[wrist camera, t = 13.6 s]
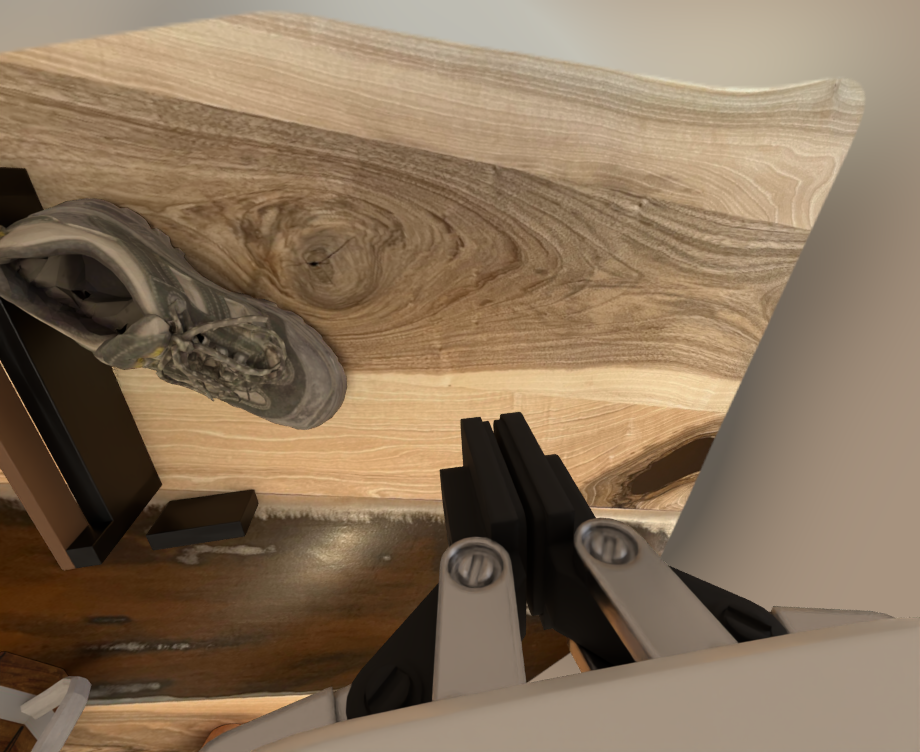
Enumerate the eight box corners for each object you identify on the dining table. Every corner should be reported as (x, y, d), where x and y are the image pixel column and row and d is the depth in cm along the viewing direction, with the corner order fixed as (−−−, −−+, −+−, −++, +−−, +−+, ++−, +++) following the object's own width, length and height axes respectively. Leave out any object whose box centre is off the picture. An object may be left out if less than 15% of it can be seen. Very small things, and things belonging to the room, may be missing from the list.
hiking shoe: (295, 463, 35) (299, 487, 24) (25, 300, 29) (-136, 232, 18) (361, 370, 37) (393, 352, 26) (124, 204, 32) (37, 93, 21)
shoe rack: (-18, 171, 26) (-186, 164, 18) (147, 160, 27) (53, 150, 20) (145, 520, 37) (83, 605, 30) (258, 503, 38) (226, 582, 31)
